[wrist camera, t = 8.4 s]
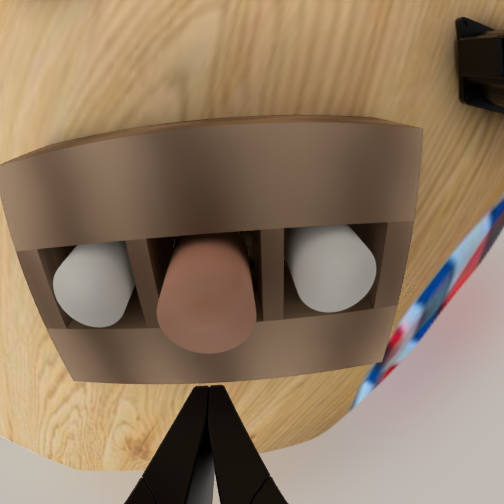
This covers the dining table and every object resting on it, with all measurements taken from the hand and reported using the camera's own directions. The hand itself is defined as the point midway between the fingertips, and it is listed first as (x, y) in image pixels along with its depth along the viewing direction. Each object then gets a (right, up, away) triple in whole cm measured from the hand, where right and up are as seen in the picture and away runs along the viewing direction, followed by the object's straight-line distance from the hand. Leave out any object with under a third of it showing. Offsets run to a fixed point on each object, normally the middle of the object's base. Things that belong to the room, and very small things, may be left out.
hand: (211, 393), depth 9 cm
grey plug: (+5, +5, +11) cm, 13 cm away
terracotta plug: (-1, +4, +9) cm, 10 cm away
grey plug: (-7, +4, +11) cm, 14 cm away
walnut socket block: (-1, +5, +11) cm, 12 cm away
